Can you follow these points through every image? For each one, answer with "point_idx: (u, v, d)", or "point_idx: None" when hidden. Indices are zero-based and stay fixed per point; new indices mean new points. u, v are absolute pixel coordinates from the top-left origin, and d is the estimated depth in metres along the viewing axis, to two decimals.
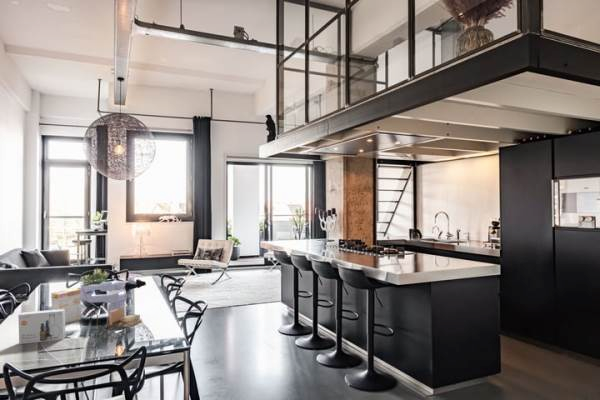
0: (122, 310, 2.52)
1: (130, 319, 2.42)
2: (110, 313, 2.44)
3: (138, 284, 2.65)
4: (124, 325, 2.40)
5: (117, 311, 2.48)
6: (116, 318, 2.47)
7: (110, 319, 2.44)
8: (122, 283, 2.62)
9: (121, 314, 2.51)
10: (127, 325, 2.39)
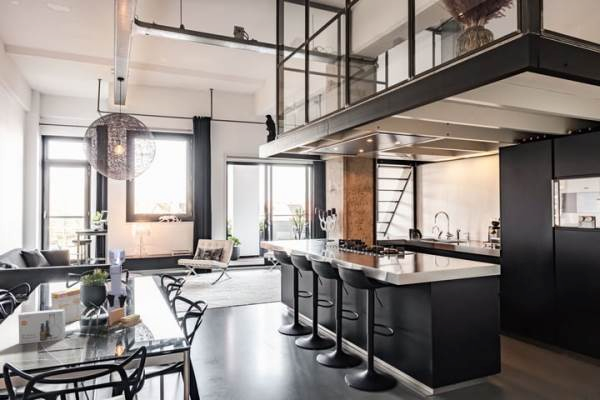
0: (122, 310, 2.52)
1: (130, 319, 2.42)
2: (110, 313, 2.44)
3: None
4: (124, 325, 2.40)
5: (117, 311, 2.48)
6: (116, 318, 2.47)
7: (110, 319, 2.44)
8: (111, 286, 2.48)
9: (121, 314, 2.51)
10: (127, 325, 2.39)
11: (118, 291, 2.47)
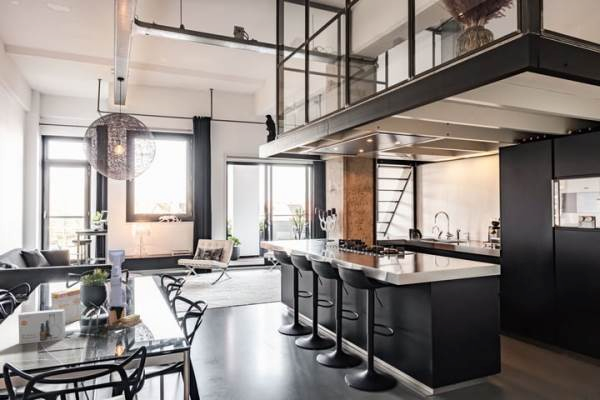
0: None
1: (130, 319, 2.42)
2: (110, 313, 2.44)
3: None
4: (124, 325, 2.40)
5: None
6: (116, 318, 2.47)
7: (110, 319, 2.44)
8: None
9: (121, 314, 2.51)
10: (127, 325, 2.39)
11: (118, 303, 2.47)
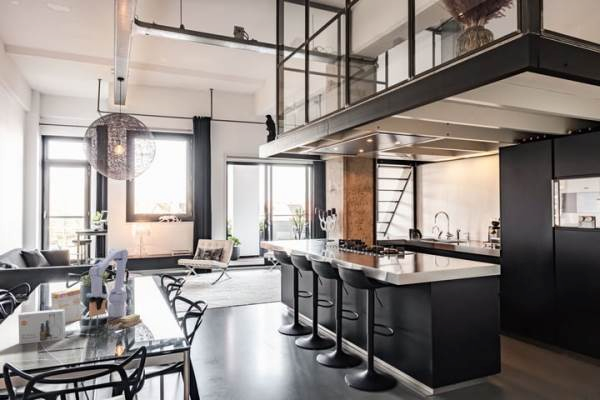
0: (103, 301, 2.48)
1: (130, 319, 2.42)
2: (90, 305, 2.40)
3: None
4: (124, 325, 2.40)
5: None
6: (96, 310, 2.43)
7: (90, 311, 2.40)
8: (91, 288, 2.44)
9: (102, 306, 2.47)
10: (127, 325, 2.39)
11: (98, 293, 2.43)
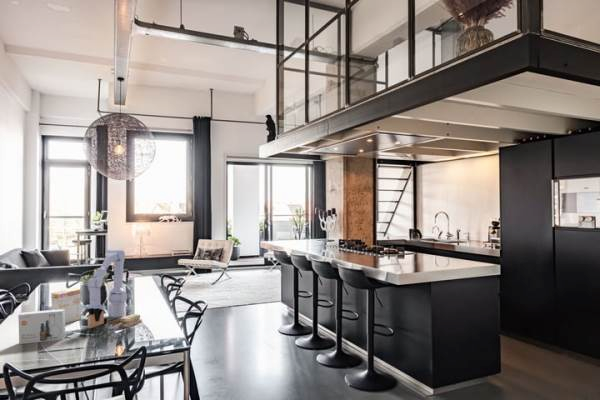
0: (101, 314, 2.47)
1: (130, 319, 2.42)
2: (88, 317, 2.40)
3: None
4: (124, 325, 2.40)
5: None
6: (95, 322, 2.42)
7: (88, 323, 2.40)
8: None
9: (100, 318, 2.46)
10: (127, 325, 2.39)
11: (97, 305, 2.42)
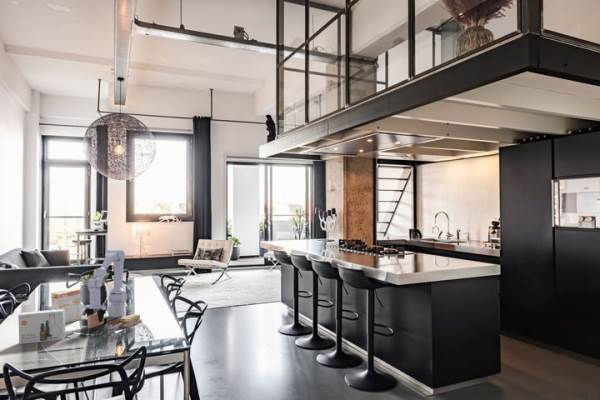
0: None
1: (130, 319, 2.42)
2: (88, 318, 2.40)
3: None
4: (124, 325, 2.40)
5: (96, 315, 2.44)
6: (95, 323, 2.42)
7: (88, 324, 2.40)
8: (90, 300, 2.43)
9: None
10: (127, 325, 2.39)
11: (97, 305, 2.42)
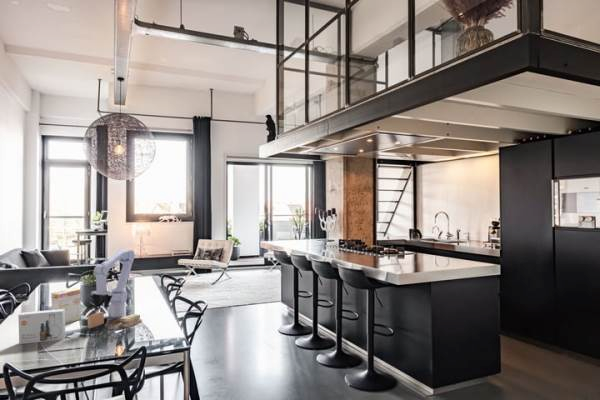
0: (101, 314, 2.47)
1: (130, 319, 2.42)
2: (88, 318, 2.40)
3: None
4: (124, 325, 2.40)
5: (96, 315, 2.44)
6: (95, 323, 2.42)
7: (88, 324, 2.40)
8: None
9: (100, 318, 2.46)
10: (127, 325, 2.39)
11: (103, 291, 2.50)
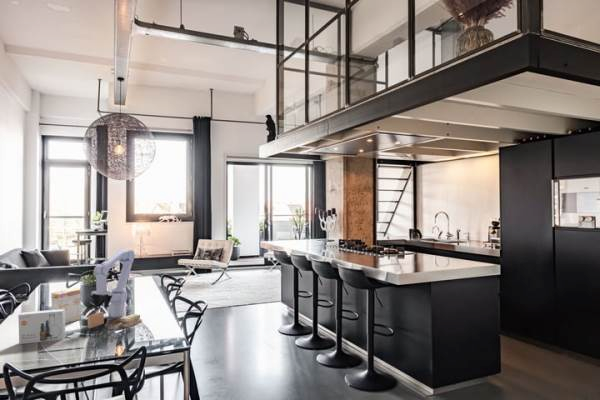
0: (101, 314, 2.47)
1: (130, 319, 2.42)
2: (88, 318, 2.40)
3: None
4: (124, 325, 2.40)
5: (96, 316, 2.44)
6: (95, 323, 2.42)
7: (88, 324, 2.40)
8: None
9: (100, 318, 2.46)
10: (127, 325, 2.39)
11: (103, 291, 2.50)
